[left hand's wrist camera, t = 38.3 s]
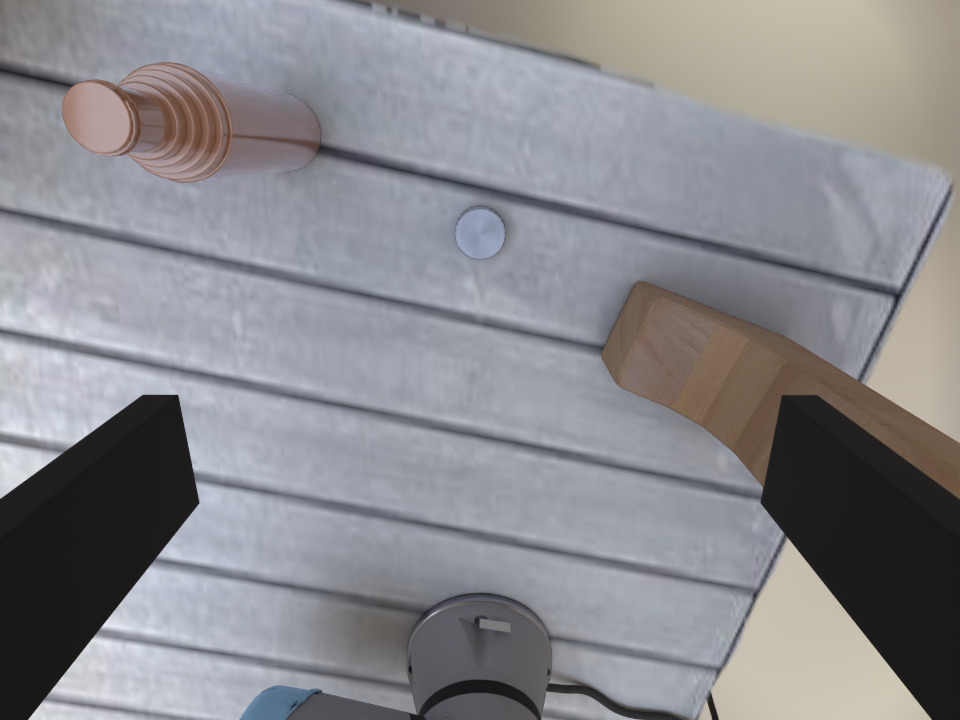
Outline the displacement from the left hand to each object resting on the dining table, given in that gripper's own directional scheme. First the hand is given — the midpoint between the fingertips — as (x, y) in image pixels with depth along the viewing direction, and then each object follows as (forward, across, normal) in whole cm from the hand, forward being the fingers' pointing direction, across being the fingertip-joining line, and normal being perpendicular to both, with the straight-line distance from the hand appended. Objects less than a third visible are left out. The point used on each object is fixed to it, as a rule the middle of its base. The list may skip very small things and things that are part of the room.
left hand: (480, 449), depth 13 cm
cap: (+34, 0, 0) cm, 34 cm away
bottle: (+36, +15, -7) cm, 39 cm away
